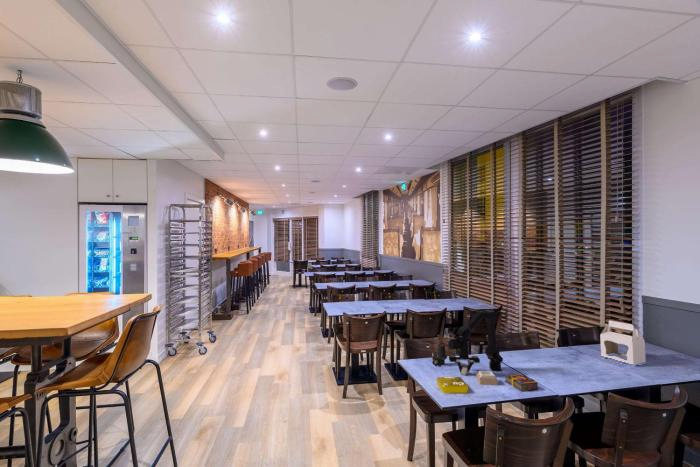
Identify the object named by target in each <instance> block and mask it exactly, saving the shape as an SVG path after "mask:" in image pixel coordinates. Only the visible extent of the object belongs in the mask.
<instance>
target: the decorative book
mask: <svg viewBox="0 0 700 467" xmlns="http://www.w3.org/2000/svg"><path fill="white" fill-rule="evenodd" d="M504 377H505V379H504V382H505V383H506V384H509V385H511V387H513V388H516V389H517V390H518V391H519V392H523V393H525V392H527V391H536V390H538V389H539V385H538V382H537V381H535V379H534V378H529V377H528V376H527V375H525V374H522V373H512V374H509V373H508V374H504Z"/></svg>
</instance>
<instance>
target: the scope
mask: <svg viewBox="0 0 700 467" xmlns="http://www.w3.org/2000/svg"><path fill="white" fill-rule="evenodd" d="M431 354H432V355H431V364H432V363H433V364H432V365H435V366H434V367H437V365H440V366H441V365H444V364H446V362H445V361H446V360H447V359H448V356H447V355H446V344H444V343H439V344H437V355H436V356H435V355H434V352H432V353H431ZM444 366H445V365H444Z"/></svg>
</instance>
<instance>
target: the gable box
mask: <svg viewBox="0 0 700 467" xmlns="http://www.w3.org/2000/svg"><path fill="white" fill-rule="evenodd" d="M604 326H605V327H604V328H603V329H602V330H601V332H600V334H599V335H600V337H599V338H600V340H599V341H600V355H601V356H604V357H608V358H612V359H615V360H618V361H622V362H626V363H629V364H633V365H634V364H638V363H642V362H646V344H645V342H646V341H645V339H644V337H643V336H642V335H641V333H640V332H639V330H638V329H637V328H635V327H636V326H635V325H634V324H633V323H632V324H631V323H628V322H627V323H626V322H622V321H615V320H608V323H605V325H604ZM612 328H615V329H622V330H626V331H631V332H632V335H628V334H624V333H619V332H613V331H612ZM619 345H625V346H627V348H628V350H627V352H626V353H621V352H619ZM610 353H615V354H618V355H622V356H626V357H627V360H624V359H622V358H619V357H617V356H608V355H607V354H610ZM601 356H600V357H601Z"/></svg>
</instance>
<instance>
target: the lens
mask: <svg viewBox="0 0 700 467" xmlns="http://www.w3.org/2000/svg"><path fill="white" fill-rule="evenodd" d="M460 365H461V372H460V375H461V376H464V377H466V376H469V373H468V364H466V363H460Z"/></svg>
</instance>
